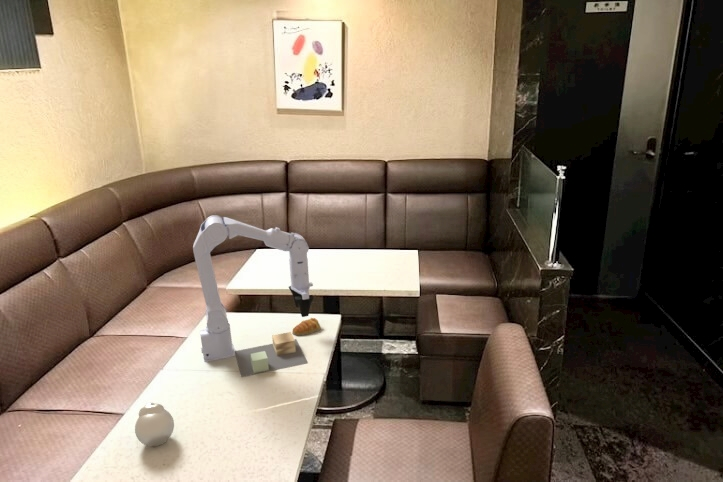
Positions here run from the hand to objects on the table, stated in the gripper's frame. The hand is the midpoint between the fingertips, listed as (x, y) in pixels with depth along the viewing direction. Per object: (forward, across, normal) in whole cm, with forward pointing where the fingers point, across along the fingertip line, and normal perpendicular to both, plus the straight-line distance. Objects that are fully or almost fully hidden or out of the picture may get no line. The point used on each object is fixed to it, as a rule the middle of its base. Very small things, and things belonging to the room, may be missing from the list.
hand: (302, 311), depth 175 cm
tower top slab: (+8, -5, +8) cm, 12 cm away
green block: (+10, -13, +17) cm, 23 cm away
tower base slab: (+10, -5, +8) cm, 13 cm away
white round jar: (+10, -36, +46) cm, 59 cm away
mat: (+10, -8, +13) cm, 18 cm away
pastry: (+10, +5, -2) cm, 12 cm away
